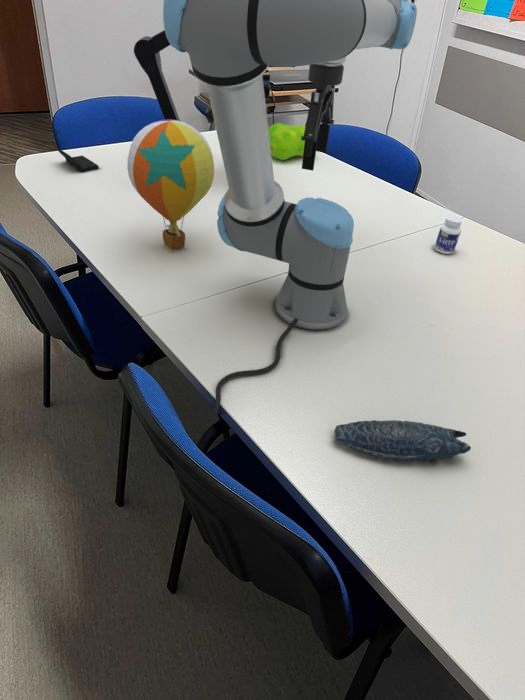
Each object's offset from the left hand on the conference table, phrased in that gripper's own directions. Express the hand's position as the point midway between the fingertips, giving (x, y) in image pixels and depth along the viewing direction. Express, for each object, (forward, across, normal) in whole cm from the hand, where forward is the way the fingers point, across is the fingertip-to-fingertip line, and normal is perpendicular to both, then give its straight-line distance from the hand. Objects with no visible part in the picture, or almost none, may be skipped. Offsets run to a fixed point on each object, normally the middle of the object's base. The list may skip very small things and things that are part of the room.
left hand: (232, 151), depth 163 cm
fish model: (+9, +110, +34) cm, 115 cm away
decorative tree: (+9, -27, +14) cm, 32 cm away
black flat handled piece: (+9, -2, -50) cm, 51 cm away
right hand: (-12, +38, +22) cm, 45 cm away
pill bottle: (+9, +39, +60) cm, 72 cm away
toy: (+9, +48, -11) cm, 50 cm away
